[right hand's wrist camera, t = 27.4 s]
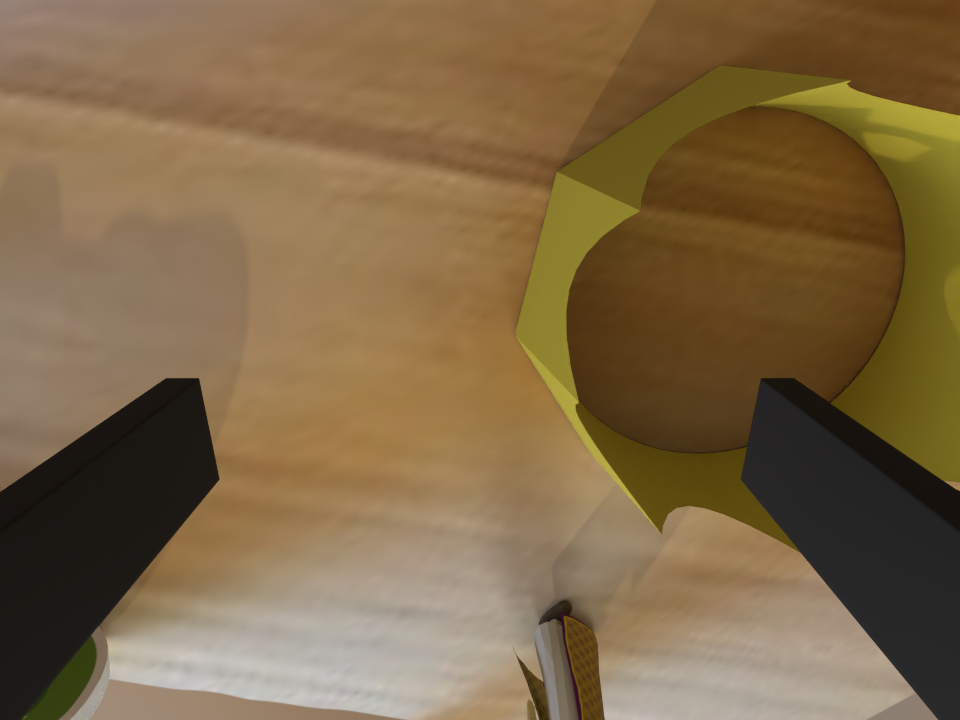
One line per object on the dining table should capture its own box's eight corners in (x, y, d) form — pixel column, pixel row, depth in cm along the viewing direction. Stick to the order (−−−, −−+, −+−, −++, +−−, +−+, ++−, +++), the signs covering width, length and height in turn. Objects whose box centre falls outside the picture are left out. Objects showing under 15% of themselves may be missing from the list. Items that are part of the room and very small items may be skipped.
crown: (916, 450, 50) (1087, 562, 36) (541, 504, 52) (564, 630, 38) (974, 15, 38) (1269, -72, 24) (479, 111, 40) (478, 83, 26)
